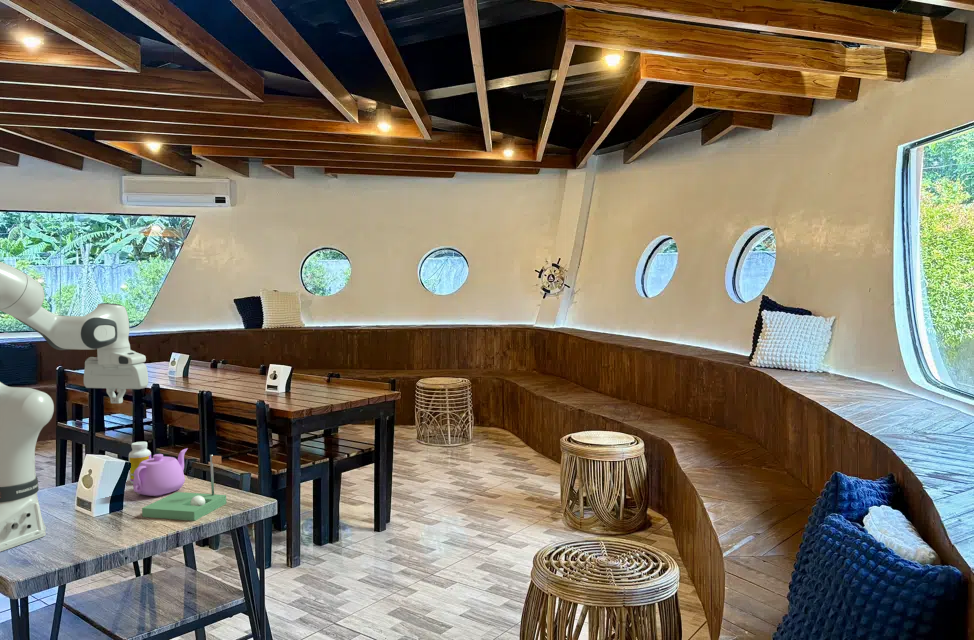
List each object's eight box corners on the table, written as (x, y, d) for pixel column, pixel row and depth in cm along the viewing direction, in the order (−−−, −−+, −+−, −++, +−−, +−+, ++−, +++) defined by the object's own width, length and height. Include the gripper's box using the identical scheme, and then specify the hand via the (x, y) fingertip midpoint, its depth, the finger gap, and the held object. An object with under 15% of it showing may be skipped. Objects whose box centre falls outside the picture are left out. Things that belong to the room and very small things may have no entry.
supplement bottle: (153, 482, 238) (151, 443, 237) (130, 486, 234) (128, 446, 233) (151, 477, 243) (149, 439, 242) (129, 481, 240) (127, 442, 239)
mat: (194, 520, 200) (194, 511, 200) (142, 516, 204) (142, 508, 204) (226, 503, 215) (226, 495, 215) (177, 500, 219) (176, 491, 219)
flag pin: (222, 496, 214) (220, 455, 213) (211, 495, 215) (209, 455, 214) (223, 495, 215) (221, 455, 214) (212, 494, 215) (210, 454, 215)
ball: (201, 501, 206) (189, 496, 207) (197, 514, 207) (185, 508, 208) (209, 497, 210) (198, 491, 211) (206, 509, 211) (194, 503, 211)
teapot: (150, 503, 217) (148, 463, 216) (120, 497, 223) (118, 459, 222) (203, 484, 235) (201, 448, 234) (173, 479, 241) (172, 444, 240)
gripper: (76, 358, 218) (79, 404, 219) (135, 359, 213) (138, 405, 214) (92, 355, 224) (95, 400, 225) (150, 356, 219) (152, 402, 220)
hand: (116, 403), depth 220 cm, fingers closed
